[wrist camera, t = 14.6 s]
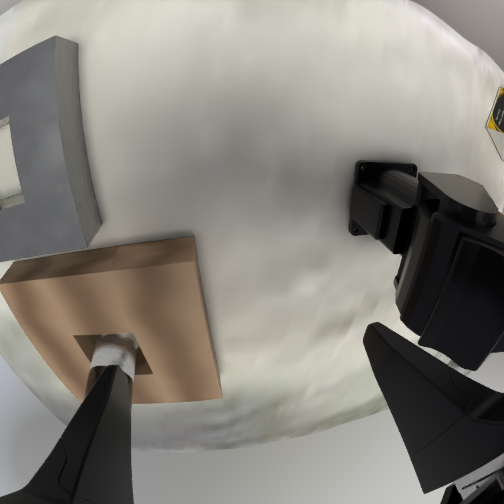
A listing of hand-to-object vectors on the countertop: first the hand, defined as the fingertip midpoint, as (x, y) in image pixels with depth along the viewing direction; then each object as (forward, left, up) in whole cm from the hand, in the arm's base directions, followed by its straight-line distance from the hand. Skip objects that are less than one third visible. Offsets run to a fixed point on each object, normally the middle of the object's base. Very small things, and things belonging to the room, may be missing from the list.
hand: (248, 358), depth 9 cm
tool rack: (+11, +11, -13) cm, 20 cm away
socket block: (+16, -7, -13) cm, 22 cm away
